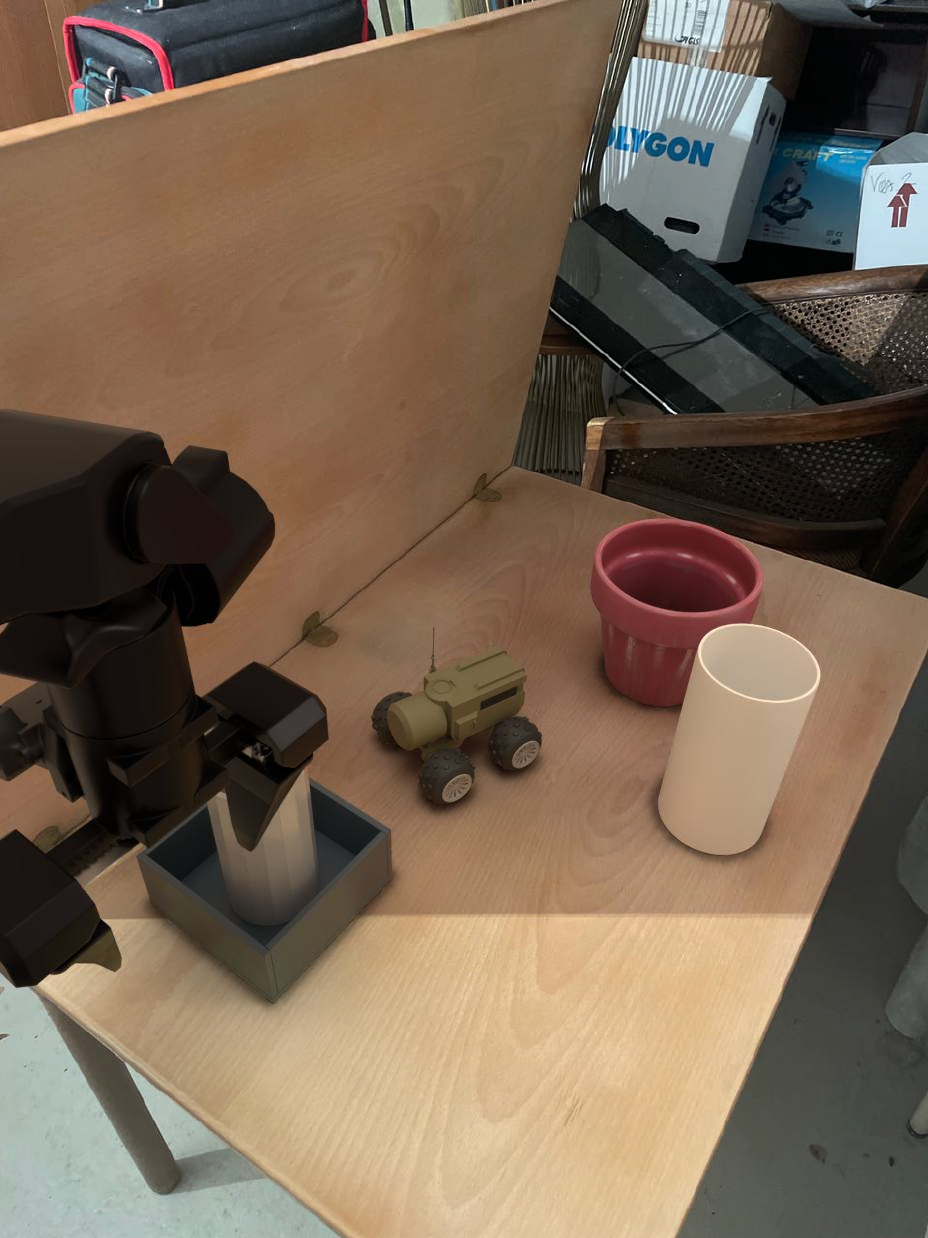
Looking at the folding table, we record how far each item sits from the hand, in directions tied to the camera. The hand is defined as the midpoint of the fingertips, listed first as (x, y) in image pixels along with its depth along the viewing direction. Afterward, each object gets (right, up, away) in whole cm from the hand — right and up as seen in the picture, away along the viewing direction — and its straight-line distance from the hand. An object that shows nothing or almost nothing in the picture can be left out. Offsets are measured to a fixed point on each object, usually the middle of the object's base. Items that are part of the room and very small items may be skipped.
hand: (183, 902), depth 49 cm
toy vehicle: (+14, +4, +27) cm, 31 cm away
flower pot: (+33, +10, +35) cm, 49 cm away
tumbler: (+2, -4, +15) cm, 16 cm away
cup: (+35, 0, +23) cm, 42 cm away
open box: (+2, -4, +16) cm, 16 cm away
